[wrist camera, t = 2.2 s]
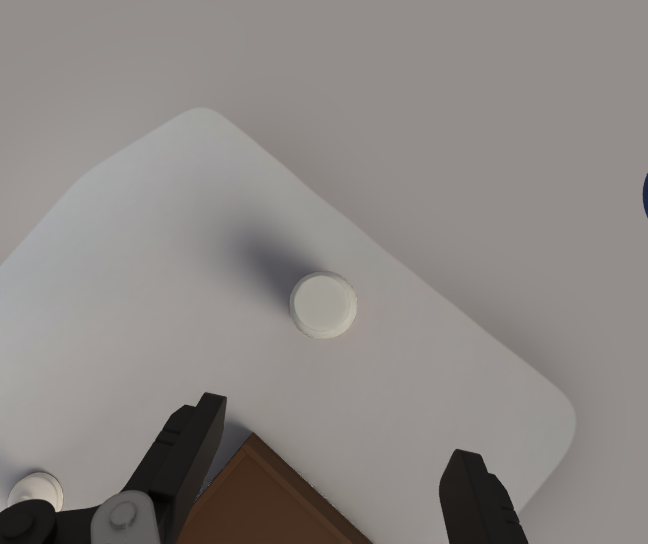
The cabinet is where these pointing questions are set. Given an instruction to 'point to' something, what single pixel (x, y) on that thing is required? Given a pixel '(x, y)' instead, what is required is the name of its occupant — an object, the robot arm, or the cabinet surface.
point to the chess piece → (37, 490)
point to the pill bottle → (323, 305)
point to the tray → (264, 506)
